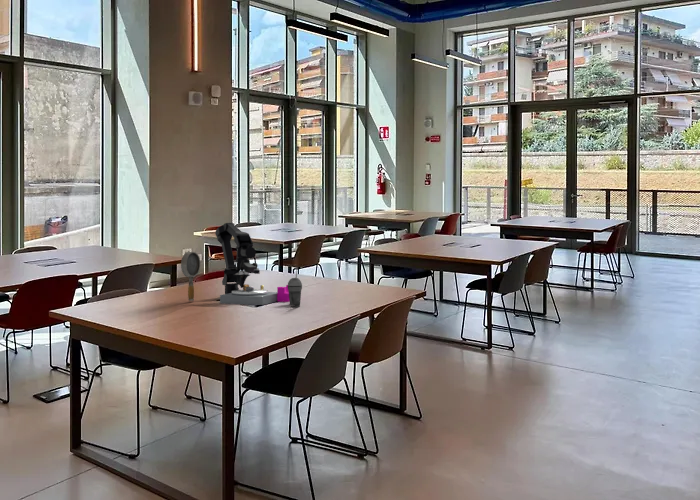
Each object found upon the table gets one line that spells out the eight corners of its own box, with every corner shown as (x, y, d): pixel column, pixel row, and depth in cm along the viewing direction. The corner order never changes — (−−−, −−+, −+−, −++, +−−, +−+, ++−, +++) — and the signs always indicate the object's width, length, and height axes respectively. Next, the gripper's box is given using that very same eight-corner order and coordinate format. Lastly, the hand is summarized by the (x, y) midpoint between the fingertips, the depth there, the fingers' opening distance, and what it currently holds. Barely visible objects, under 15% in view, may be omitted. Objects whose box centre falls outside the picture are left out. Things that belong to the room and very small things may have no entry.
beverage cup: (287, 308, 318) (287, 268, 317) (302, 308, 318) (302, 268, 317) (287, 310, 310) (286, 269, 310) (302, 310, 311) (301, 269, 310)
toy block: (289, 302, 326) (289, 287, 325) (277, 301, 327) (277, 287, 327) (298, 299, 340) (298, 285, 340) (287, 298, 342) (287, 284, 341)
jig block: (220, 303, 318) (220, 295, 318) (241, 298, 340) (241, 291, 340) (262, 304, 311) (262, 296, 311) (281, 300, 333) (281, 292, 333)
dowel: (259, 292, 333) (259, 285, 333) (261, 292, 335) (261, 285, 335) (262, 292, 333) (262, 285, 333) (264, 292, 334) (264, 285, 334)
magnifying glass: (195, 299, 337) (195, 251, 336) (200, 299, 336) (200, 251, 335) (181, 301, 324) (180, 252, 324) (186, 301, 323) (186, 252, 323)
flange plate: (227, 292, 331) (227, 284, 331) (262, 290, 338) (262, 283, 338) (235, 295, 313) (235, 288, 313) (271, 294, 320) (271, 286, 320)
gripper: (236, 258, 319) (235, 289, 319) (266, 258, 332) (265, 288, 332) (223, 257, 327) (222, 288, 327) (253, 257, 340) (252, 287, 340)
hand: (241, 287), depth 331 cm, fingers closed
